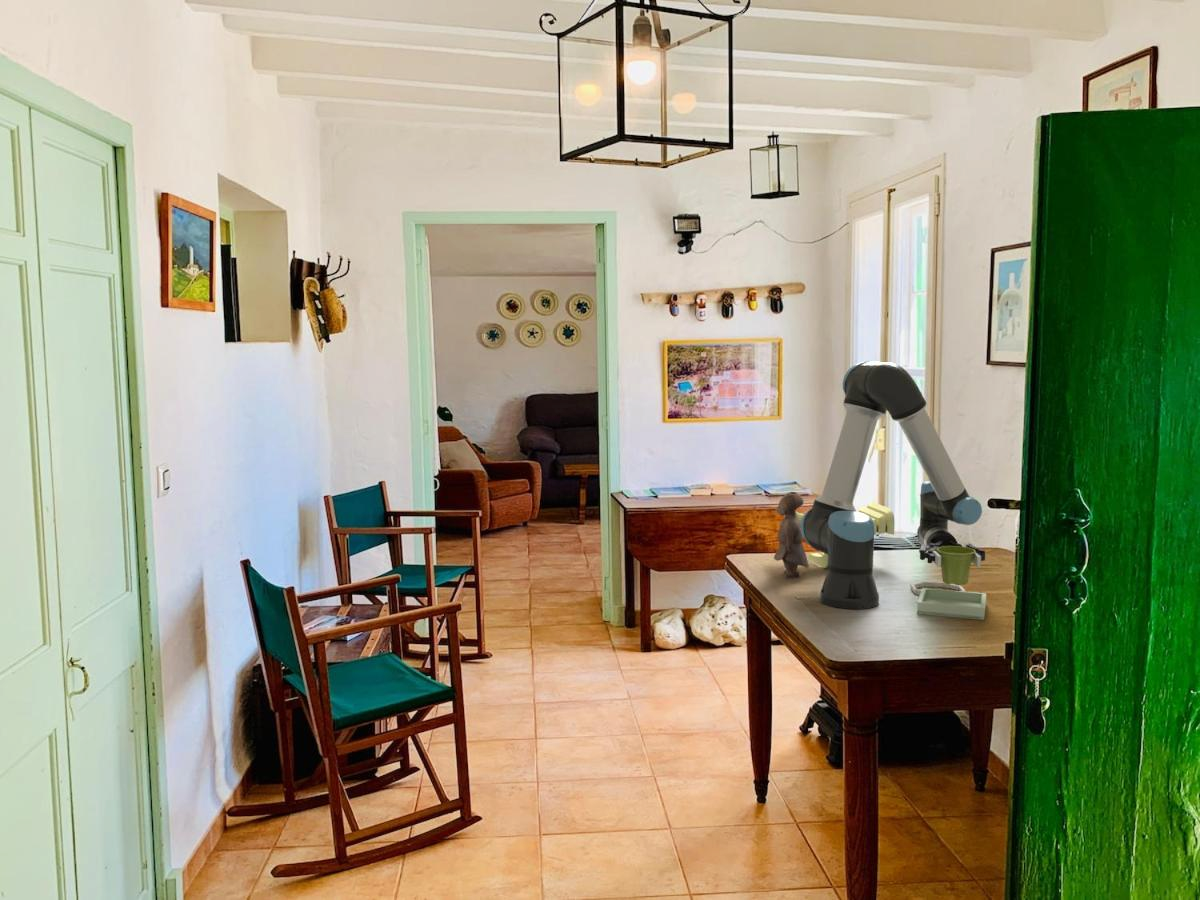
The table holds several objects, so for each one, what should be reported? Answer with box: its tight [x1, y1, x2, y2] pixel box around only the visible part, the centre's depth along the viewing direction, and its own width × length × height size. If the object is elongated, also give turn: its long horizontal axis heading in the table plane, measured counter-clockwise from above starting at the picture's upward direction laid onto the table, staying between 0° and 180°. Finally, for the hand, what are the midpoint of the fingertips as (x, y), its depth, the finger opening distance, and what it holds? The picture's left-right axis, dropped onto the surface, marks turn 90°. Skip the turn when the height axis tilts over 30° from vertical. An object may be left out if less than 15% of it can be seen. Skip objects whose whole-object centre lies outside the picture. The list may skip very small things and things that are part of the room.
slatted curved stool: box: [795, 501, 895, 569], centre depth 318 cm, size 30×16×18 cm, turn 99°
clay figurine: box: [773, 491, 809, 579], centre depth 301 cm, size 13×10×25 cm
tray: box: [916, 587, 987, 621], centre depth 266 cm, size 16×16×3 cm
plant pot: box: [937, 546, 976, 586], centre depth 265 cm, size 9×9×9 cm
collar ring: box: [910, 581, 967, 596], centre depth 284 cm, size 14×14×1 cm
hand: (959, 561), depth 261 cm, fingers closed on plant pot, 9 cm apart
